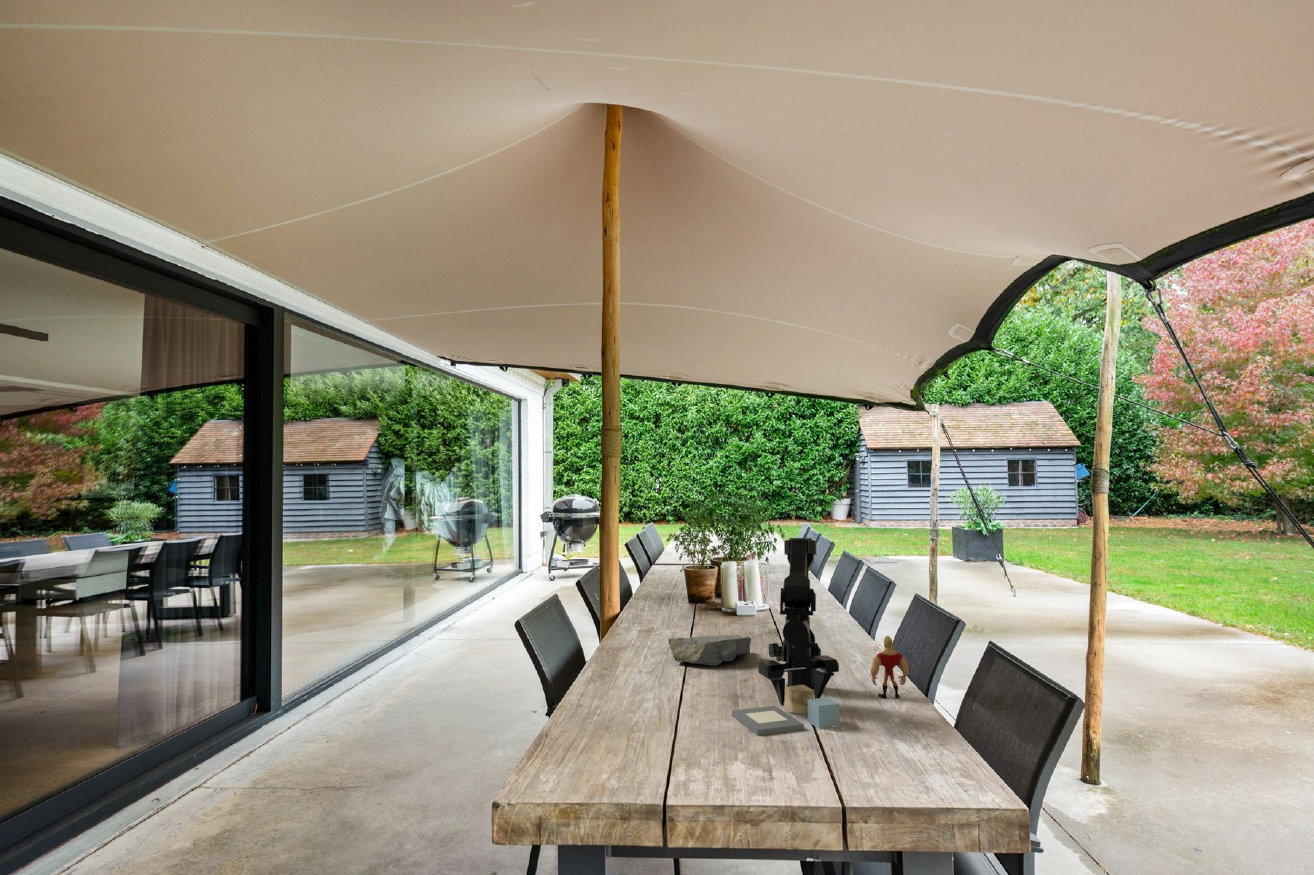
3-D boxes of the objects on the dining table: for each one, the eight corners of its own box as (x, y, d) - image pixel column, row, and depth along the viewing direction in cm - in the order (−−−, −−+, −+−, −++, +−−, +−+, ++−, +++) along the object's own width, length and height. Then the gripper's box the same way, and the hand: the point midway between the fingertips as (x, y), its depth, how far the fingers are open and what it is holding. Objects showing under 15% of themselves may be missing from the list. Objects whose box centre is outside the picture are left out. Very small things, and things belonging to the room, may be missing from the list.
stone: (655, 636, 221) (696, 621, 242) (655, 664, 220) (697, 647, 241) (724, 644, 208) (762, 628, 229) (725, 674, 208) (762, 655, 229)
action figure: (906, 694, 185) (904, 634, 186) (911, 699, 181) (909, 637, 182) (868, 695, 185) (866, 634, 186) (873, 699, 181) (871, 637, 182)
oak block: (804, 705, 177) (803, 684, 178) (814, 712, 172) (813, 690, 173) (785, 708, 176) (784, 686, 176) (795, 714, 171) (794, 692, 171)
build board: (774, 710, 173) (774, 705, 173) (803, 729, 160) (803, 723, 160) (731, 715, 170) (731, 710, 170) (757, 735, 157) (757, 729, 157)
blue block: (827, 719, 167) (827, 697, 167) (839, 726, 162) (838, 703, 162) (807, 722, 165) (807, 699, 166) (819, 729, 161) (818, 706, 161)
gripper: (815, 627, 186) (817, 690, 185) (748, 633, 180) (749, 698, 179) (839, 636, 175) (841, 703, 174) (768, 642, 169) (769, 711, 169)
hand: (799, 703), depth 174 cm, fingers open, 9 cm apart
